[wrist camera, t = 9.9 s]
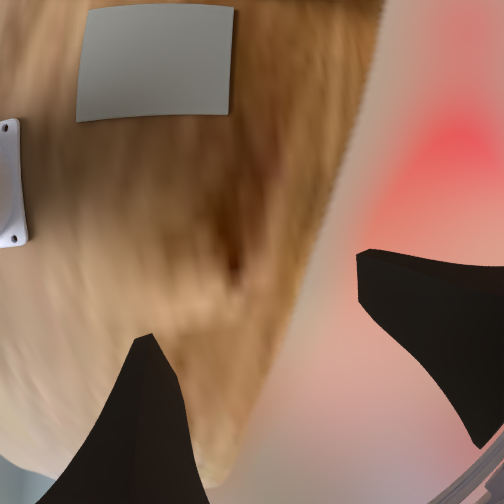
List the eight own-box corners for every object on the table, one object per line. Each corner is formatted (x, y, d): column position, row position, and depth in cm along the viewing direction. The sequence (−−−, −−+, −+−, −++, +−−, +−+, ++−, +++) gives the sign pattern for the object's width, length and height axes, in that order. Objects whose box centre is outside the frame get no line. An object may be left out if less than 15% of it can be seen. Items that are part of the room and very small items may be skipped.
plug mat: (77, 122, 14) (75, 122, 13) (89, 12, 11) (88, 10, 10) (226, 115, 16) (228, 114, 16) (232, 9, 14) (233, 7, 13)
